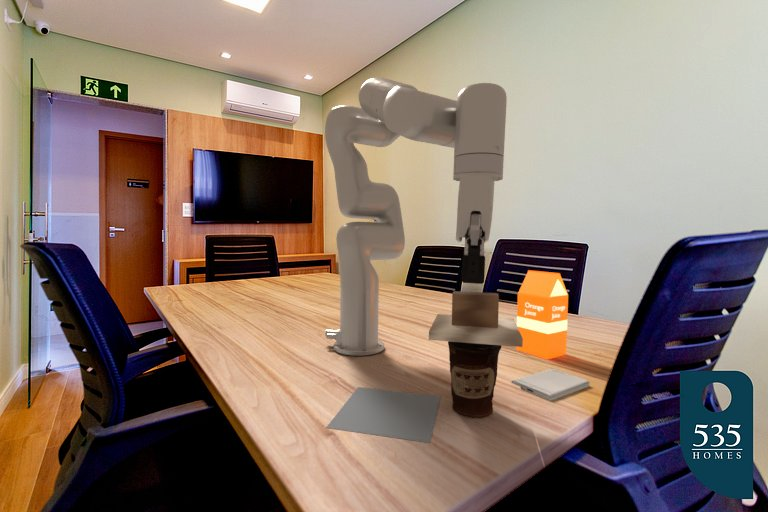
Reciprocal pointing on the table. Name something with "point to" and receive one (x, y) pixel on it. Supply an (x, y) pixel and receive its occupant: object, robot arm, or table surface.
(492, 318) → the lid
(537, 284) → the orange juice
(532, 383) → the hard drive
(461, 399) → the coffee cup
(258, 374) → the table surface
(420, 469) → the table surface
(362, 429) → the mat
